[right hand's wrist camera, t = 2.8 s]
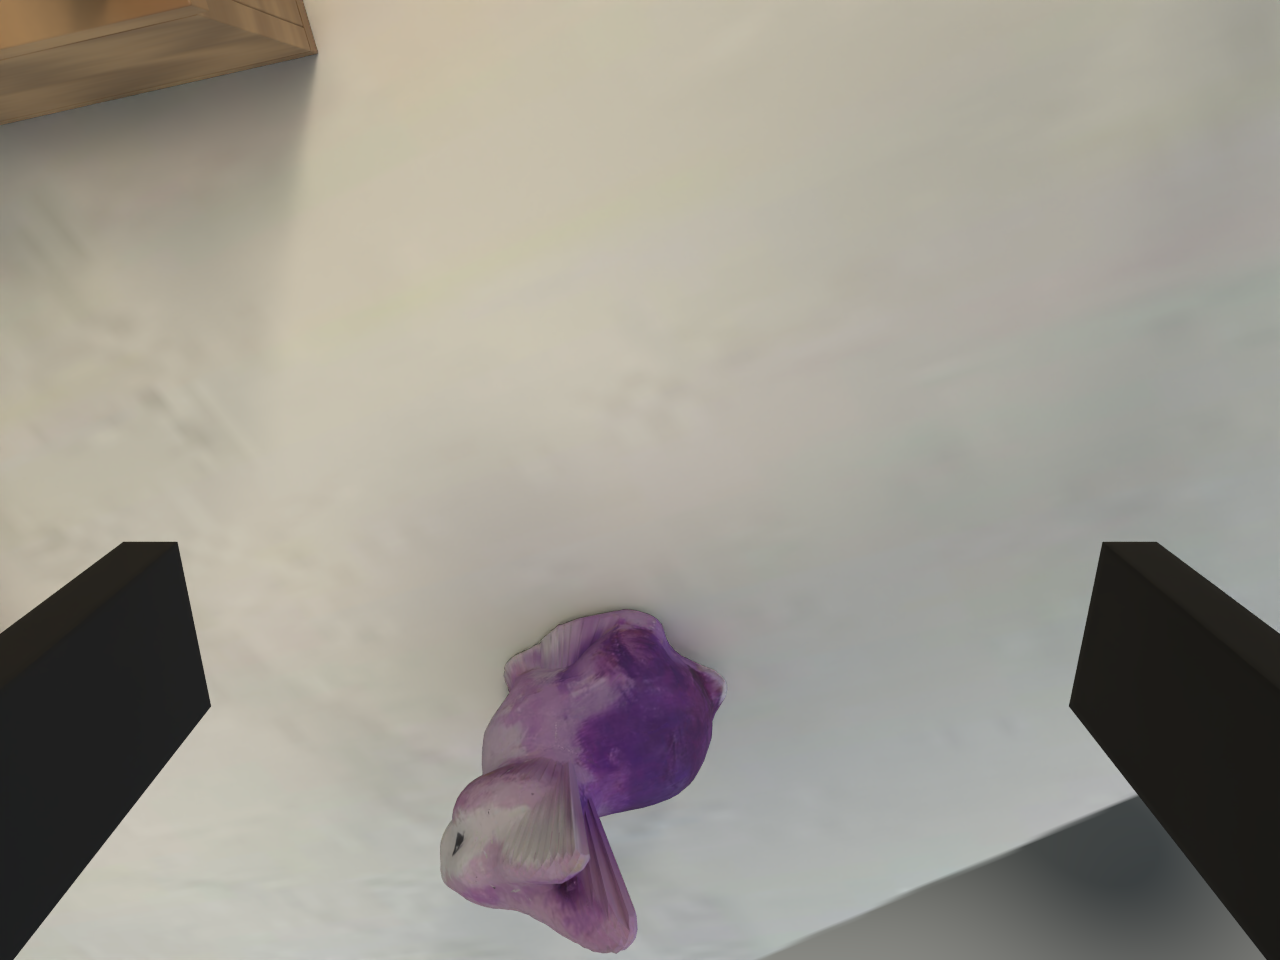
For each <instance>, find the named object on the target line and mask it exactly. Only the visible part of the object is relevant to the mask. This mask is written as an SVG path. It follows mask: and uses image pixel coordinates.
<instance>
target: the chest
mask: <svg viewBox="0 0 1280 960" xmlns="http://www.w3.org/2000/svg"><path fill="white" fill-rule="evenodd" d="M206 2H207V5H208V8H209V11H208V12H205V13H200V14H196V15H192V16H187V17H183V18H179V19H174V20H170V21H166V22H161V23H157V24H153V25H148V26H144V27H140V28H135V29H131V30H127V31H122V32H118V33H114V34H109V35H105V36H101V37H96V38H92V39H88V40H83V41H79V42H75V43H70V44H66V45H62V46H57V47H53V48H49V49H44V50H40V51H36V52H31V53H27V54H23V55H18V56H14V57H10V58H5V59H1V60H0V125H3V124H7V123H12V122H16V121H21V120H25V119H29V118H34V117H38V116H43V115H47V114H52V113H56V112H61V111H65V110H69V109H74V108H78V107H83V106H87V105H92V104H96V103H100V102H105V101H109V100H114V99H118V98H123V97H127V96H132V95H136V94H140V93H145V92H149V91H154V90H158V89H163V88H167V87H171V86H176V85H180V84H185V83H189V82H194V81H198V80H203V79H207V78H211V77H216V76H220V75H225V74H229V73H234V72H238V71H242V70H247V69H251V68H256V67H260V66H265V65H269V64H274V63H278V62H282V61H287V60H291V59H296V58H300V57H305V56H309V55H313V54H317V53H318V51H317V48H316V44H315V41H314V38H313V34H312V31H311V28H310V24H309V21H308V17H307V14H306V11H305V7H304V4H303V0H206Z"/></svg>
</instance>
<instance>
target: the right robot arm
mask: <svg viewBox="0 0 1280 960" xmlns="http://www.w3.org/2000/svg"><path fill="white" fill-rule="evenodd" d="M210 707H211V704H210V699H209V694H208V689H207V684H206V679H205V674H204V670H203V665H202V660H201V655H200V650H199V645H198V640H197V635H196V630H195V626H194V621H193V616H192V611H191V606H190V601H189V596H188V591H187V586H186V582H185V577H184V572H183V567H182V562H181V557H180V552H179V547H178V542H123V543H121V544H120V545H119V546H117V547H116V548H115V549H113V550H112V551H111V552H109V553H108V554H107V555H105V556H104V557H102V558H101V559H100V560H98V561H97V562H96V563H94V564H93V565H92V566H90V567H89V568H88V569H86V570H85V571H84V572H82V573H81V574H80V575H78V576H77V577H76V578H74V579H73V580H72V581H70V582H69V583H68V584H66V585H65V586H64V587H62V588H61V589H60V590H58V591H57V592H56V593H54V594H53V595H52V596H50V597H49V598H48V599H46V600H45V601H44V602H42V603H41V604H40V605H38V606H37V607H36V608H34V609H33V610H32V611H30V612H29V613H27V614H26V615H25V616H23V617H22V618H21V619H19V620H18V621H17V622H15V623H14V624H13V625H11V626H10V627H9V628H7V629H6V630H5V631H3V632H2V633H1V634H0V960H13V959H14V958H15V957H16V956H17V954H18V953H19V952H20V951H21V949H22V948H23V947H24V945H25V944H26V943H27V942H28V940H29V939H30V938H31V936H32V935H33V934H34V933H35V931H36V930H37V929H38V927H39V926H40V925H41V924H42V922H43V921H44V920H45V918H46V917H47V916H48V915H49V913H50V912H51V911H52V909H53V908H54V907H55V906H56V904H57V903H58V902H59V901H60V899H61V898H62V897H63V895H64V894H65V893H66V892H67V890H68V889H69V888H70V886H71V885H72V884H73V883H74V881H75V880H76V879H77V877H78V876H79V875H80V874H81V872H82V871H83V870H84V868H85V867H86V866H87V865H88V863H89V862H90V861H91V859H92V858H93V857H94V856H95V854H96V853H97V852H98V850H99V849H100V848H101V847H102V845H103V844H104V843H105V842H106V840H107V839H108V838H109V836H110V835H111V834H112V833H113V831H114V830H115V829H116V827H117V826H118V825H119V824H120V822H121V821H122V820H123V818H124V817H125V816H126V815H127V813H128V812H129V811H130V809H131V808H132V807H133V806H134V804H135V803H136V802H137V800H138V799H139V798H140V797H141V795H142V794H143V793H144V792H145V790H146V789H147V788H148V786H149V785H150V784H151V783H152V781H153V780H154V779H155V777H156V776H157V775H158V774H159V772H160V771H161V770H162V768H163V767H164V766H165V765H166V763H167V762H168V761H169V759H170V758H171V757H172V756H173V754H174V753H175V752H176V750H177V749H178V748H179V747H180V745H181V744H182V743H183V742H184V740H185V739H186V738H187V736H188V735H189V734H190V733H191V731H192V730H193V729H194V727H195V726H196V725H197V724H198V722H199V721H200V720H201V718H202V717H203V716H204V715H205V713H206V712H207V711H208V709H209V708H210ZM1069 707H1070V708H1071V709H1072V711H1073V712H1074V713H1075V715H1076V716H1077V717H1078V718H1079V720H1080V721H1081V722H1082V724H1083V725H1084V726H1085V727H1086V729H1087V730H1088V731H1089V733H1090V734H1091V735H1092V736H1093V738H1094V739H1095V740H1096V742H1097V743H1098V744H1099V745H1100V747H1101V748H1102V749H1103V750H1104V752H1105V753H1106V754H1107V756H1108V757H1109V758H1110V759H1111V761H1112V762H1113V763H1114V765H1115V766H1116V767H1117V768H1118V770H1119V771H1120V772H1121V774H1122V775H1123V776H1124V777H1125V779H1126V780H1127V781H1128V783H1129V784H1130V785H1131V786H1132V788H1133V789H1134V790H1135V792H1136V793H1137V794H1138V795H1139V797H1140V798H1141V799H1142V800H1143V802H1144V803H1145V804H1146V806H1147V807H1148V808H1149V809H1150V811H1151V812H1152V813H1153V815H1154V816H1155V817H1156V818H1157V820H1158V821H1159V822H1160V824H1161V825H1162V826H1163V827H1164V829H1165V830H1166V831H1167V833H1168V834H1169V835H1170V836H1171V838H1172V839H1173V840H1174V842H1175V843H1176V844H1177V845H1178V847H1179V848H1180V849H1181V851H1182V852H1183V853H1184V854H1185V856H1186V857H1187V858H1188V859H1189V861H1190V862H1191V863H1192V865H1193V866H1194V867H1195V868H1196V870H1197V871H1198V872H1199V874H1200V875H1201V876H1202V877H1203V879H1204V880H1205V881H1206V883H1207V884H1208V885H1209V886H1210V888H1211V889H1212V890H1213V892H1214V893H1215V894H1216V895H1217V897H1218V898H1219V899H1220V901H1221V902H1222V903H1223V904H1224V906H1225V907H1226V908H1227V909H1228V911H1229V912H1230V913H1231V915H1232V916H1233V917H1234V918H1235V920H1236V921H1237V922H1238V924H1239V925H1240V926H1241V927H1242V929H1243V930H1244V931H1245V933H1246V934H1247V935H1248V936H1249V938H1250V939H1251V940H1252V942H1253V943H1254V944H1255V945H1256V947H1257V948H1258V949H1259V951H1260V952H1261V953H1262V954H1263V956H1264V957H1265V958H1266V959H1267V960H1280V634H1279V633H1278V632H1277V631H1275V630H1274V629H1273V628H1271V627H1270V626H1269V625H1267V624H1266V623H1265V622H1263V621H1262V620H1261V619H1259V618H1258V617H1257V616H1255V615H1254V614H1253V613H1251V612H1250V611H1248V610H1247V609H1246V608H1244V607H1243V606H1242V605H1240V604H1239V603H1238V602H1236V601H1235V600H1234V599H1232V598H1231V597H1230V596H1228V595H1227V594H1226V593H1224V592H1223V591H1222V590H1220V589H1219V588H1218V587H1216V586H1215V585H1214V584H1212V583H1211V582H1210V581H1208V580H1207V579H1206V578H1204V577H1203V576H1202V575H1200V574H1199V573H1198V572H1196V571H1195V570H1194V569H1192V568H1191V567H1190V566H1188V565H1187V564H1186V563H1184V562H1183V561H1182V560H1180V559H1179V558H1178V557H1176V556H1175V555H1173V554H1172V553H1171V552H1169V551H1168V550H1167V549H1165V548H1164V547H1163V546H1161V545H1160V544H1159V543H1157V542H1102V547H1101V552H1100V557H1099V562H1098V567H1097V572H1096V577H1095V582H1094V586H1093V591H1092V596H1091V601H1090V606H1089V611H1088V616H1087V621H1086V626H1085V630H1084V635H1083V640H1082V645H1081V650H1080V655H1079V660H1078V665H1077V670H1076V674H1075V679H1074V684H1073V689H1072V694H1071V699H1070V704H1069Z"/></svg>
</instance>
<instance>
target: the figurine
mask: <svg viewBox="0 0 1280 960" xmlns="http://www.w3.org/2000/svg"><path fill="white" fill-rule="evenodd" d="M504 669H505V671H504V677H505V682H506V684H507V686H508V688H509V689H508V690H509V692H510V693H509V694H508V696H507V697H506V699H505V700H504V702H503V703H502V704H501V706H500V707H499V709H498V710H497V712H496V713H495V715H494V716H493V718H492V719H491V721H490V723H489V725H488V727H487V729H486V731H485V733H484V739H483V747H482V771H483V775H482V776H480V777H478V778H476V779H475V780H473V781H472V782H471V783H469V784H468V785H467V786H466V788H465V789H464V790H463V791H462V792H461V793H460V795H459V797H458V798H457V801H456V803H455V806H454V809H453V816H452V821H451V822H450V824H449V825H448V826H447V828H446V830H445V832H444V834H443V836H442V840H441V845H440V861H441V868H440V871H441V876H442V879H443V881H444V883H445V884H446V885H447V886H448V887H449V888H451V889H452V890H454V891H456V892H457V893H459V894H460V895H461V896H463V897H464V898H465V899H467V900H469V901H471V902H473V903H475V904H478V905H481V906H484V907H488V908H494V909H506V910H515V911H519V912H522V913H524V914H528V915H530V916H531V917H533V918H534V919H536V920H538V921H540V922H542V923H545V924H546V925H548V926H549V927H551V928H552V929H553V930H555V931H556V932H557V933H559V934H561V935H562V936H564V937H566V938H568V939H569V940H571V941H573V942H575V943H578V944H580V945H581V946H582V947H584V948H587V949H590V950H591V951H593V952H600V953H609V952H613V953H616V954H617V953H618V952H619V951H621V950H625V949H627V948H628V947H629V946H630V945H631V944H632V943H633V941H634V940H635V938H636V934H637V916H636V912H635V909H634V906H633V904H632V901H631V899H630V896H629V893H628V891H627V888H626V886H625V883H624V881H623V878H622V875H621V873H620V870H619V868H618V865H617V862H616V860H615V857H614V855H613V852H612V850H611V847H610V844H609V842H608V839H607V837H606V834H605V832H604V829H603V826H602V824H601V821H600V819H599V817H602V816H606V815H610V814H614V813H619V812H624V811H629V810H634V809H639V808H644V807H647V806H651V805H654V804H657V803H660V802H662V801H665V800H668V799H670V798H672V797H674V796H676V795H677V794H679V793H680V792H681V791H682V790H684V789H685V788H686V787H687V786H688V785H689V784H690V783H691V782H692V781H693V780H694V778H695V776H696V775H697V773H698V771H699V770H700V768H701V766H702V764H703V762H704V759H705V756H706V753H707V750H708V747H709V744H710V741H711V737H712V720H713V718H714V715H715V713H716V711H717V710H718V708H719V706H720V705H721V703H722V702H723V700H724V698H725V697H726V693H727V684H726V681H725V680H724V678H723V677H722V676H721V675H720V674H719V673H718V672H717V671H715V670H713V669H711V668H708V667H705V666H702V665H700V664H698V663H696V662H694V661H691V660H689V659H687V658H685V657H683V656H681V655H680V654H678V653H677V652H676V651H675V650H674V649H673V648H672V647H671V646H670V644H669V643H668V641H667V639H666V636H665V633H664V629H663V626H662V624H661V623H660V622H659V621H658V620H657V619H656V618H655V617H653V616H651V615H649V614H647V613H643V612H640V611H636V610H627V609H623V610H618V611H612V612H607V613H602V614H597V615H592V616H587V617H582V618H578V619H575V620H573V621H570V622H567V623H565V624H562V625H558V626H557V627H556V628H554V629H553V630H552V631H551V632H550V633H549V634H548V635H546V636H545V637H544V638H543V639H541V643H540V644H538V645H535V646H533V647H532V648H530V649H528V650H525V651H523V652H521V653H519V654H517V655H515V656H514V657H512V658H511V659H510V660H509V661H508V662H507V663H506V665H505V668H504Z"/></svg>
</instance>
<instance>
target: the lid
mask: <svg viewBox="0 0 1280 960" xmlns="http://www.w3.org/2000/svg"><path fill="white" fill-rule="evenodd" d="M208 11H209V8H208V5H207V2H206V0H0V60H1V59H5V58H10V57H14V56H18V55H23V54H27V53H31V52H36V51H40V50H44V49H49V48H53V47H57V46H62V45H66V44H70V43H75V42H79V41H83V40H88V39H92V38H96V37H101V36H105V35H109V34H114V33H118V32H122V31H127V30H131V29H135V28H140V27H144V26H148V25H153V24H157V23H161V22H166V21H170V20H174V19H179V18H183V17H187V16H192V15H196V14H200V13H205V12H208Z"/></svg>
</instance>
